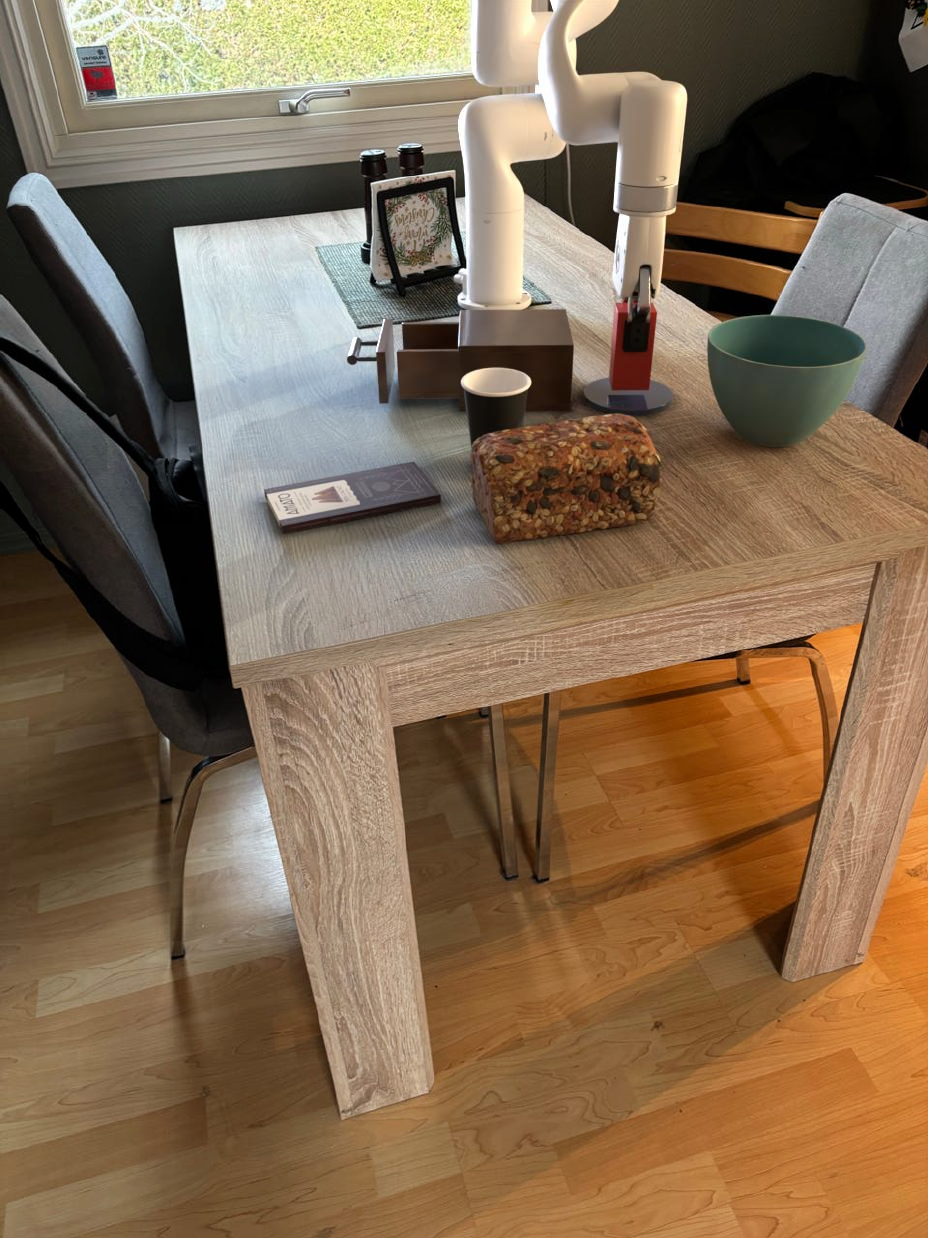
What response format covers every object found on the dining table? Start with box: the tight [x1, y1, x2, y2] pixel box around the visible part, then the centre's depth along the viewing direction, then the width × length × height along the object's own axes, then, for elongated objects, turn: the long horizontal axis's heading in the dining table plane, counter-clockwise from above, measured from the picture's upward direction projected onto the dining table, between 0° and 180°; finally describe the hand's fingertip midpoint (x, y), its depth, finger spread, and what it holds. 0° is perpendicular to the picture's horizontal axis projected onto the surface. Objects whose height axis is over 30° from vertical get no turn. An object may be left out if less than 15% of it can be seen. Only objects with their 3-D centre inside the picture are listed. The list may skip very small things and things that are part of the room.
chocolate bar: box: [263, 461, 442, 534], centre depth 110 cm, size 9×1×18 cm
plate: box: [583, 376, 674, 417], centre depth 133 cm, size 12×12×1 cm
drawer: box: [346, 318, 460, 405], centre depth 134 cm, size 18×13×7 cm
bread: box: [469, 413, 664, 545], centre depth 104 cm, size 19×11×10 cm, turn 103°
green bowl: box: [706, 314, 868, 448], centre depth 120 cm, size 18×18×12 cm
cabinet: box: [458, 308, 575, 413], centre depth 133 cm, size 15×14×9 cm
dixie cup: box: [461, 368, 531, 449], centre depth 113 cm, size 8×8×11 cm
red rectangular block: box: [608, 301, 658, 391], centre depth 129 cm, size 5×4×10 cm
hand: (632, 343), depth 129 cm, fingers closed on red rectangular block, 4 cm apart
